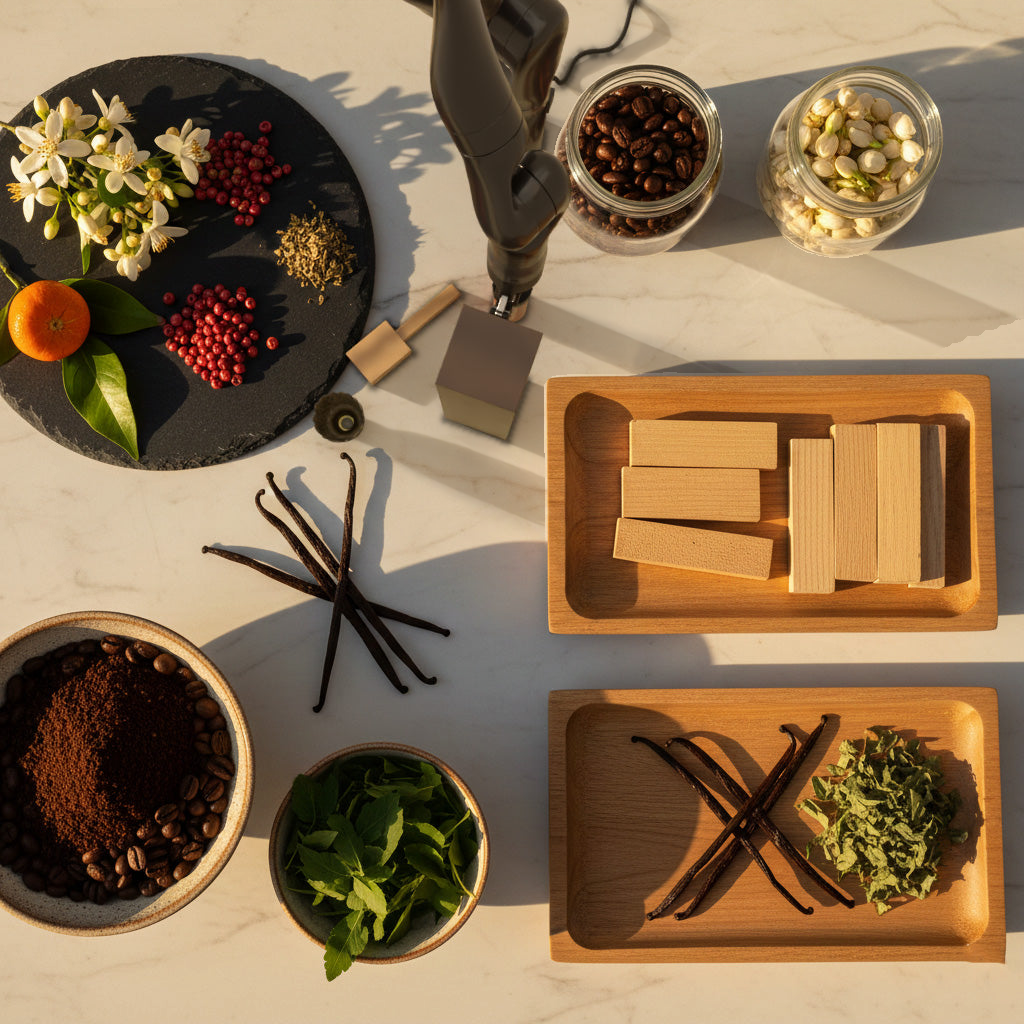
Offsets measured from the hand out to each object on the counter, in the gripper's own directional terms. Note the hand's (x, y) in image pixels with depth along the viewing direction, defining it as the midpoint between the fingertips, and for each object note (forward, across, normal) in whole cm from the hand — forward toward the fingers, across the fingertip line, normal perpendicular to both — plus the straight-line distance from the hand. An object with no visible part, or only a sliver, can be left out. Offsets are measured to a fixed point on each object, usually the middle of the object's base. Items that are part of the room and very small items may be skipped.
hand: (511, 293), depth 118 cm
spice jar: (+7, 0, 0) cm, 7 cm away
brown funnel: (+8, +26, -18) cm, 32 cm away
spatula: (+7, +9, -14) cm, 18 cm away
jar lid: (-3, 0, 0) cm, 3 cm away
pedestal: (+7, +15, +2) cm, 17 cm away
